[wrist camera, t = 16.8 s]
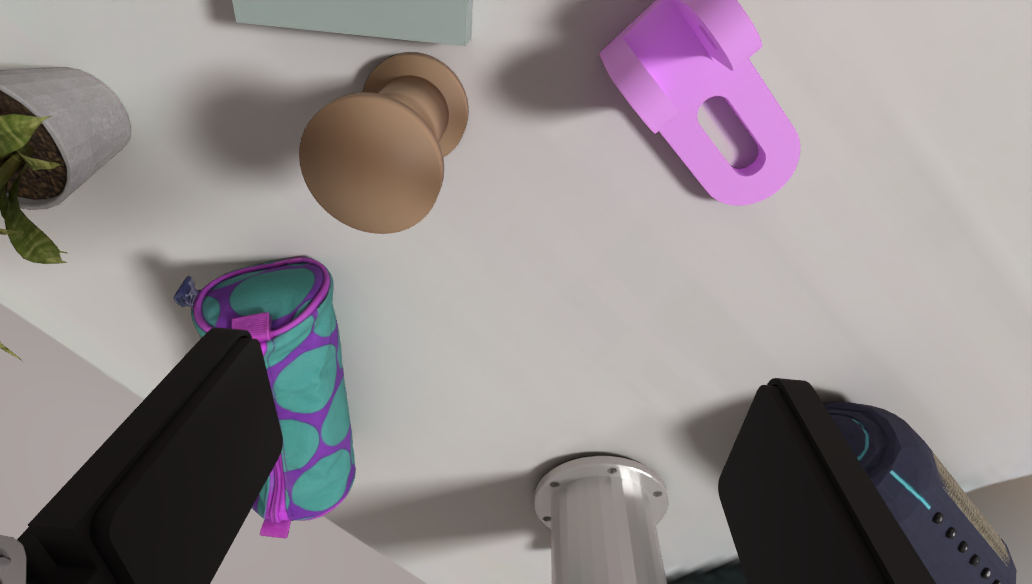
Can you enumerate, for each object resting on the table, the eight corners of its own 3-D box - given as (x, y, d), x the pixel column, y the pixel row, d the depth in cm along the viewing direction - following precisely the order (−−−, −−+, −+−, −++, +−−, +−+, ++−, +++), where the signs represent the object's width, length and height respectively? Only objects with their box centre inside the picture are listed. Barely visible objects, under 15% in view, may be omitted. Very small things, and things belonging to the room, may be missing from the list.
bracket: (598, 52, 28) (612, 82, 23) (685, -30, 26) (725, -20, 20) (725, 212, 33) (762, 269, 28) (807, 155, 31) (867, 204, 25)
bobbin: (466, 162, 32) (440, 239, 24) (370, 152, 32) (309, 227, 24) (470, 57, 29) (440, 106, 20) (362, 46, 29) (288, 91, 20)
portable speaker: (978, 507, 49) (1065, 621, 41) (872, 544, 53) (932, 654, 45) (861, 359, 40) (944, 469, 32) (744, 418, 44) (790, 529, 36)
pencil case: (224, 238, 36) (135, 323, 28) (351, 251, 36) (297, 338, 28) (276, 435, 48) (223, 534, 40) (372, 444, 48) (338, 545, 40)
